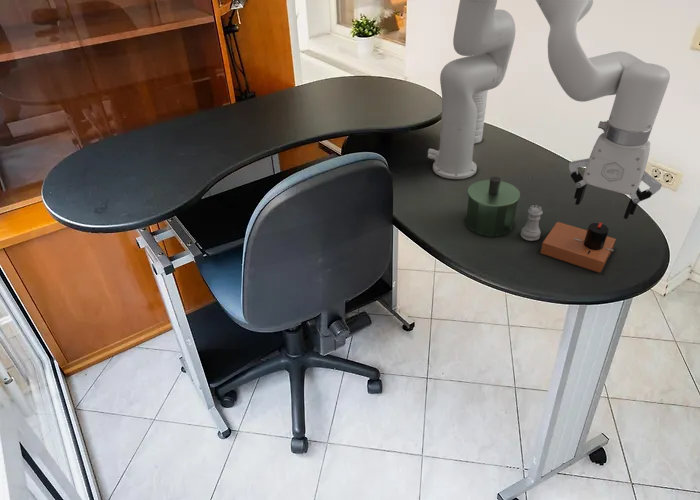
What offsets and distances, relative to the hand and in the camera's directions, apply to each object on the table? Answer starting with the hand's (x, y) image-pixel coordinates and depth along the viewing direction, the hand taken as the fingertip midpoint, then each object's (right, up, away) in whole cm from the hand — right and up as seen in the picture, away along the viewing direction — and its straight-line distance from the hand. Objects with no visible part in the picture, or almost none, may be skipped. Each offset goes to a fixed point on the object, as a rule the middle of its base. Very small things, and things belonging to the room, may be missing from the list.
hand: (602, 208), depth 106 cm
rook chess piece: (-10, -6, +14) cm, 18 cm away
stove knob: (+1, -8, +5) cm, 9 cm away
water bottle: (-13, +27, +58) cm, 65 cm away
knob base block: (-2, -9, +8) cm, 12 cm away
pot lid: (-19, +5, +14) cm, 24 cm away
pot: (-19, -2, +19) cm, 26 cm away
